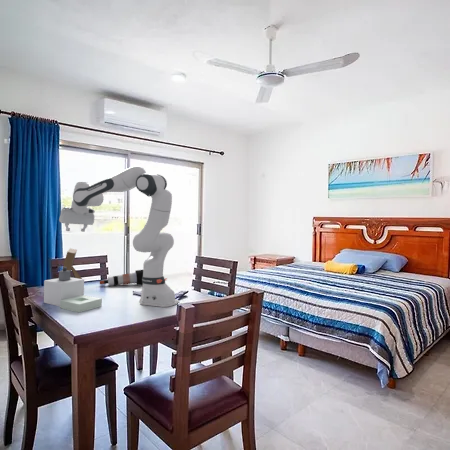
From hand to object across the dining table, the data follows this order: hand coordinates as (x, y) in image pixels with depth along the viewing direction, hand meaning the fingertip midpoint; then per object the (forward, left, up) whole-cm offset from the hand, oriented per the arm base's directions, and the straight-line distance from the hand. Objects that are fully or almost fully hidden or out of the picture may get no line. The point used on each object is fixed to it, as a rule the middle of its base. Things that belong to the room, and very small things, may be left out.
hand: (75, 231), depth 203 cm
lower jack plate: (-28, +18, -38) cm, 50 cm away
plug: (-12, +16, -29) cm, 35 cm away
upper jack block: (-12, +16, -38) cm, 43 cm away
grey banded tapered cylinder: (-7, -36, -38) cm, 53 cm away
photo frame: (+12, -7, -38) cm, 40 cm away
